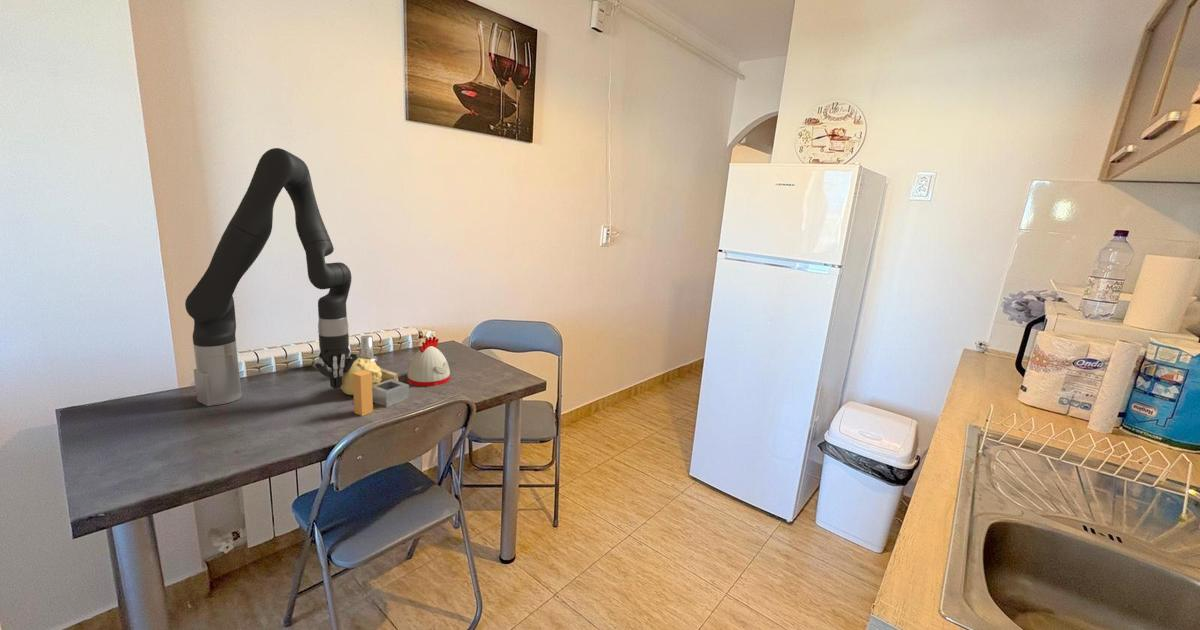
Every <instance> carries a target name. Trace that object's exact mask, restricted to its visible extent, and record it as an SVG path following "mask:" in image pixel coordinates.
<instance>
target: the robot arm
mask: <svg viewBox="0 0 1200 630" xmlns="http://www.w3.org/2000/svg"><path fill="white" fill-rule="evenodd" d="M311 177H312V176H311V173H310V170H309V167H308V165H307V164H306V163H305V161H304V160H302V158H300V157H299V156H296V155H294V154H293V153H291V152H289V151H288V150H285V149H284V148H280V147H275V148H274V147H273V148H271V149H268V150H266V151H265V152H264V154H262V155H261V157H260V158H259V160H258V163H257V164H256V167H255V170H254V173H253V175H252V178H251V180H250V183H249V185H248V187H247V189H246V191H245V193H244V195H243V197H242V199H241V201H240V204H239V205H238V207H237V209H236V210H235V213H234V214H233V216H232V217H231V219H230V220H229V222H228V223H227V226H226V228H225V230H224V231H223V234H222V235H221V237H220V239H219V242H218V244H217V245H216V248H215V250H214V252H213V255H212V257H211V260H210V263H209V265H208V266H207V269H206V271H205V272H204V274H203V276H201V278H200V279H199V281H198V282H197V284H196V285H195V286H194V288H193V289H192V290H191V291H190V293H189V294H188V295H187V296H186V299H185V303H184V304H185V310H186V313H187V314H188V316H189V317H190V318H192V319H193V322H194V323H193V325H194V326H193V332H192V344H193V351H194V352H193V353H194V359H195V367H196V368H195V369H193V378H194V384H195V385H194V386H195V393H196V394H195V395H196V400H197V402H198V403H201V404H203V405H204V406H207V407H210V406H218V405H224V404H229V403H232V402H235V401H237V400H240V399H241V398H242V384H241V376H240V367H239V358H238V348H237V339H236V331H237V322H236V309H235V300H234V297H233V295H234V292H235V290H236V289H237V286H238V284H239V282H240V281H241V279H242V278H243V276H244V275H245V274H246V272H247V271H248V270H249V269H250V268H251V267H252V266H253V264H254V262H255V261H256V260H257V259H258V257H259V256H260V254H261V252H262V251H263V249H264V248H265V246H266V244H267V242H268V240H269V238H270V236H271V233H272V230H273V223H274V222H273V220H274V216H273V215H274V207H275V203H276V201H277V199H278V196H279V195H280V194H281V192H282V190H283V189H285V191H286V192H287V193H286V194H288V196H289V198H290V200H291V203H292V205H293V208H294V214H295V215H294V217H295V219H294V220H295V229H296V232H297V236H298V237H299V240H300V242H301V245H302V248H303V250H304V252H305V260H306V267H307V268H306V269H307V277H308V280H309V283H310V284H311V285H312V286H313V287H315V288H316V289H318V290H328V289H329V290H328V292H327V294H325V295H323V296H321V297H320V298H319V299H318V300H317V311H318V312H317V313H318V321H317V328H318V330H317V333H318V345H319V351H320V352H319V354H318V358H317V360H316V361H312V362H311V366H312V367H313V368H314V369H315V370H316V371H318V373H320V374H321V375H322V376H324V377H326V378H329V386H330V387H331V388H332V389H334V390H338V389H341V386H342V375H343V374H344V373H345V372H346V373H347V372H348V371H349V369H350V368H351V366H352V364H353V363H354V361H356V360H357V359H358V354H356V353H353V352H351V350H350V347H349V346H350V343H349V342H350V339H349V338H350V337H349V336H350V335H349V322H348V316H347V313H348V312H347V299H348V296H349V293H350V289H351V284H352V273H351V270H350V268H349V266H347V265H346V264H345V263H344V262H340V261H339V262H328V263H326V260H325V259H326V258H325V257H327V256H330V255H331V254H333V252H334V250H335V248H334V245H333V243H332V240H331V237H330V235H329V233H328V229H327V228H326V226H325V223H324V221H323V218H322V215H321V213H320V209H319V205H318V203H317V199H316V195H315V191H314V187H313V183H312V178H311ZM324 364H325V365H326V368H325V367H324V366H325V365H324Z"/></svg>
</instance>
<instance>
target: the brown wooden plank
mask: <svg viewBox="0 0 1200 630" xmlns="http://www.w3.org/2000/svg"><path fill="white" fill-rule="evenodd" d="M380 368H381V372H382V376H381V379H382V380H381V381H380V382H383V381H386V380H389V379H393V380H396V381H399V373H396V372H394V371H392V370H391V371H390V370H388V369H384V368H382V367H380Z"/></svg>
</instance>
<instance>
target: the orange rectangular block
mask: <svg viewBox="0 0 1200 630" xmlns="http://www.w3.org/2000/svg"><path fill="white" fill-rule="evenodd" d="M353 392H354V395H353V409H354V410H353V411H354V412H353V413H354V414H356V415H359V416H361V417H363V416H365V415H368V414H371V413H373V412H374V404H373V403H374V402H373V397H372V373H371V372H368V371H365V370H362V371H359V372H355V373H353Z"/></svg>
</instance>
